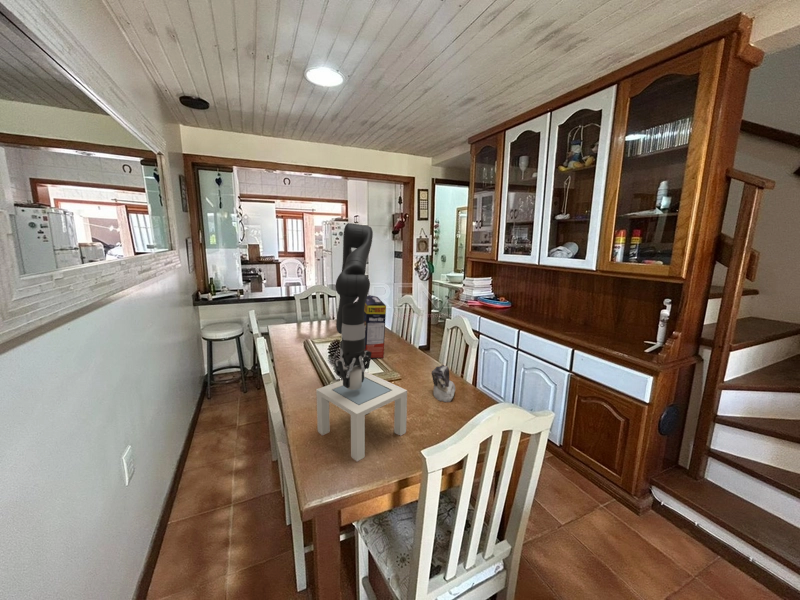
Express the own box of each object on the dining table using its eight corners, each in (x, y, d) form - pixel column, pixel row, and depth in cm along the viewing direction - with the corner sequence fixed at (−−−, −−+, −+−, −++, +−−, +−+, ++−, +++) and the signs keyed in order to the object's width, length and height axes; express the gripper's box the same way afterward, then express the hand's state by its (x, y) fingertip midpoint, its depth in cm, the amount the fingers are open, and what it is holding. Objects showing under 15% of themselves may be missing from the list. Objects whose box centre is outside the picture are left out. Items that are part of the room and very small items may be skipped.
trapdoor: (333, 392, 114) (332, 389, 114) (364, 380, 124) (364, 377, 124) (358, 407, 104) (358, 404, 104) (390, 392, 114) (390, 390, 114)
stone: (459, 406, 139) (446, 379, 134) (437, 412, 142) (423, 386, 137) (457, 384, 152) (445, 359, 146) (437, 390, 154) (424, 365, 149)
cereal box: (384, 359, 187) (387, 303, 181) (364, 359, 184) (366, 303, 178) (376, 344, 212) (378, 294, 206) (358, 344, 209) (360, 294, 204)
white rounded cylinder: (342, 386, 111) (342, 369, 110) (355, 381, 115) (355, 365, 114) (352, 391, 108) (352, 374, 106) (364, 386, 111) (364, 369, 110)
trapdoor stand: (317, 431, 117) (316, 389, 114) (365, 409, 132) (365, 371, 129) (357, 461, 102) (356, 413, 99) (406, 432, 117) (407, 390, 114)
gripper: (363, 329, 115) (363, 374, 119) (327, 337, 105) (329, 387, 109) (377, 334, 110) (377, 381, 114) (342, 343, 100) (342, 395, 103)
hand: (353, 384), depth 111 cm, fingers closed on white rounded cylinder, 5 cm apart
